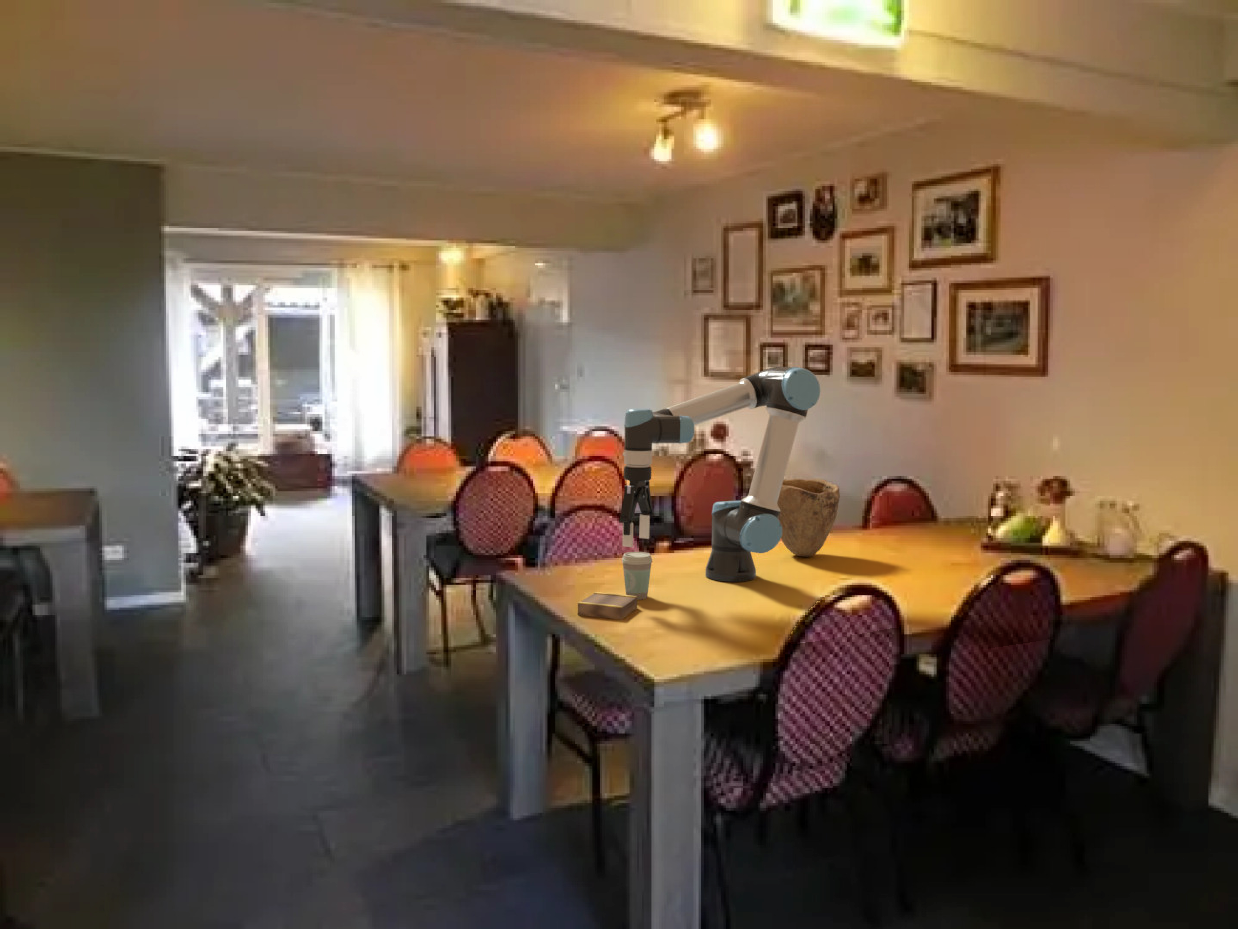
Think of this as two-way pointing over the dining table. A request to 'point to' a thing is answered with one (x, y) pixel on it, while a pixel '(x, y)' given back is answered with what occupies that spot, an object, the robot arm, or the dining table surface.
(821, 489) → the ancient clay pot
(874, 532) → the dining table surface
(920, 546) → the dining table surface
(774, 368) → the robot arm
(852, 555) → the dining table surface
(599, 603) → the block
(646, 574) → the coffee cup
